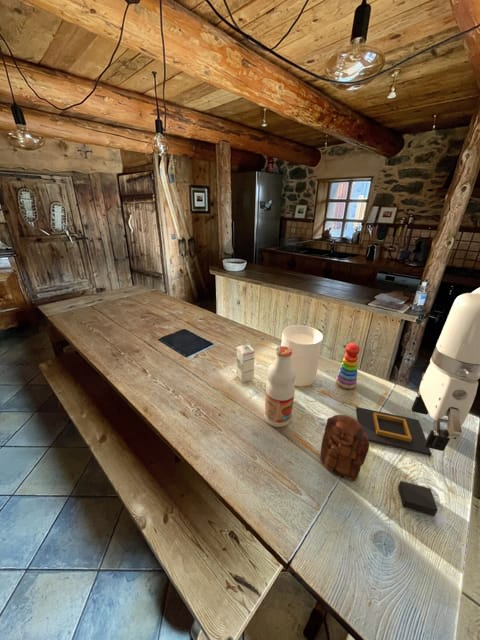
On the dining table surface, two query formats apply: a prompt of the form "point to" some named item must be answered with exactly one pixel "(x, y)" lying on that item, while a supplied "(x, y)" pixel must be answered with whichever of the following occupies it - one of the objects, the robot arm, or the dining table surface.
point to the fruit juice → (280, 389)
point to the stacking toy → (349, 367)
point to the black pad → (417, 498)
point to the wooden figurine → (344, 446)
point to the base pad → (393, 430)
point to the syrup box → (245, 362)
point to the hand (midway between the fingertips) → (425, 428)
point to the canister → (303, 351)
